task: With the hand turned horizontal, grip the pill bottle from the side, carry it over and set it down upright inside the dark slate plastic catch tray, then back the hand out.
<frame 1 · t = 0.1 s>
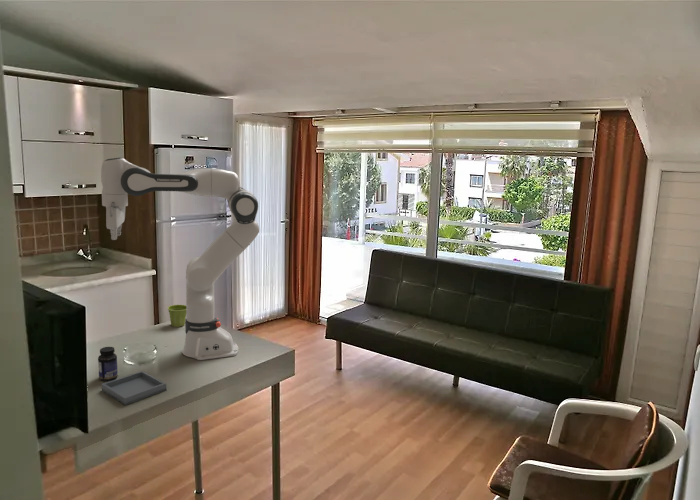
hand: (116, 237, 194), 48 cm above the table, tool pointing down, fingers open, 8 cm apart
pill bottle: (108, 378, 184), on the table
object: (178, 325, 242), on the table
catch tray: (134, 390, 176), on the table
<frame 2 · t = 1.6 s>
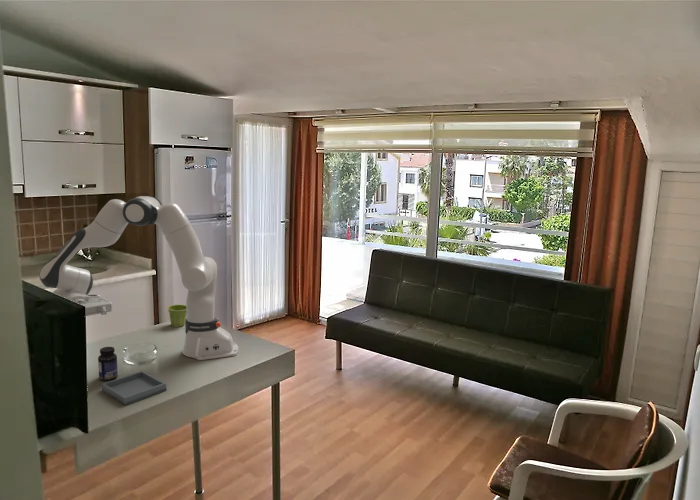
hand: (91, 315, 188), 21 cm above the table, tool horizontal, fingers open, 8 cm apart
nothing on the table moved.
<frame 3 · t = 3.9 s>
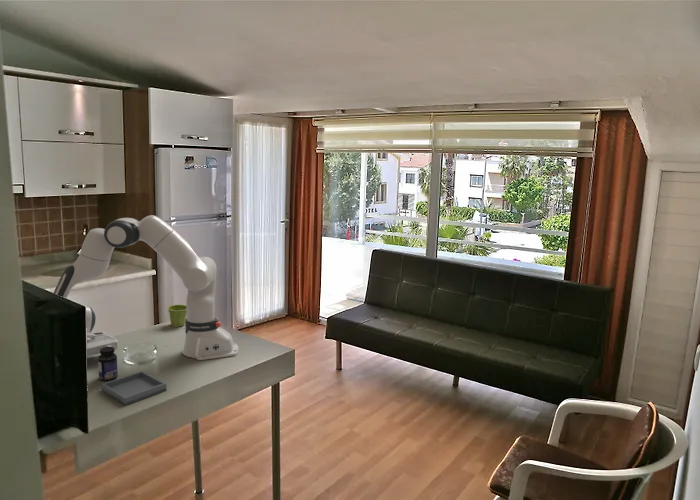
hand: (97, 355, 189), 6 cm above the table, tool horizontal, fingers open, 8 cm apart
nothing on the table moved.
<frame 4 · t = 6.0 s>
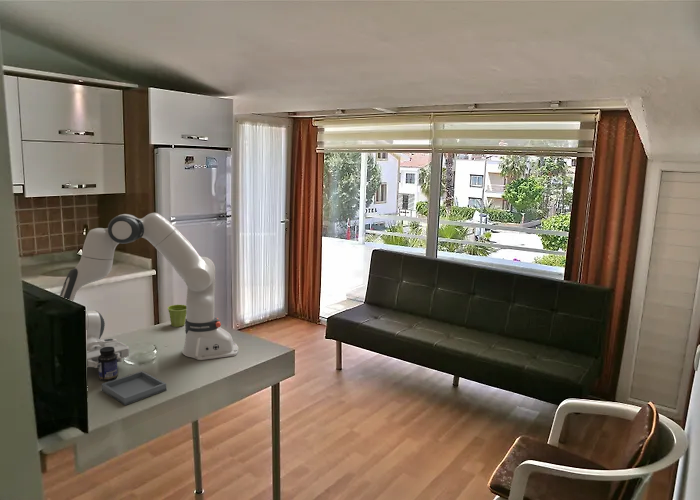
hand: (108, 362, 182), 6 cm above the table, tool horizontal, fingers closed on pill bottle, 6 cm apart
pill bottle: (108, 378, 184), on the table, touching gripper
everything else where it was.
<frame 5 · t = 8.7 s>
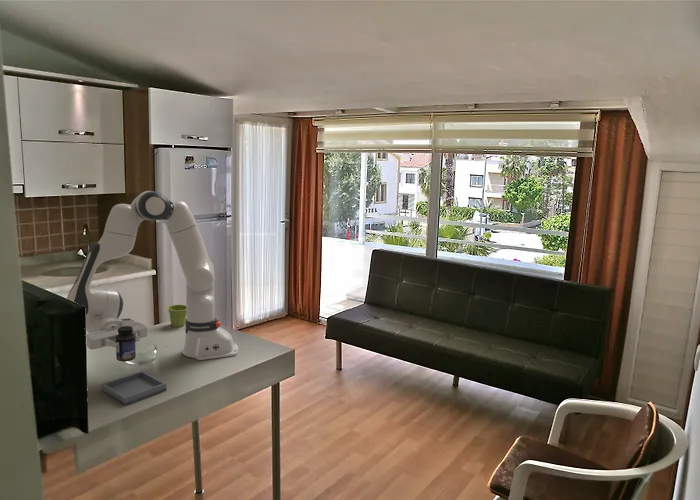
hand: (126, 342, 174), 17 cm above the table, tool horizontal, fingers closed on pill bottle, 6 cm apart
pill bottle: (126, 359, 176), point 10 cm above the table, touching gripper
everything else where it was.
when the fingers open (8 cm above the table, at t = 11.6 s): pill bottle drops 1 cm, resting on catch tray.
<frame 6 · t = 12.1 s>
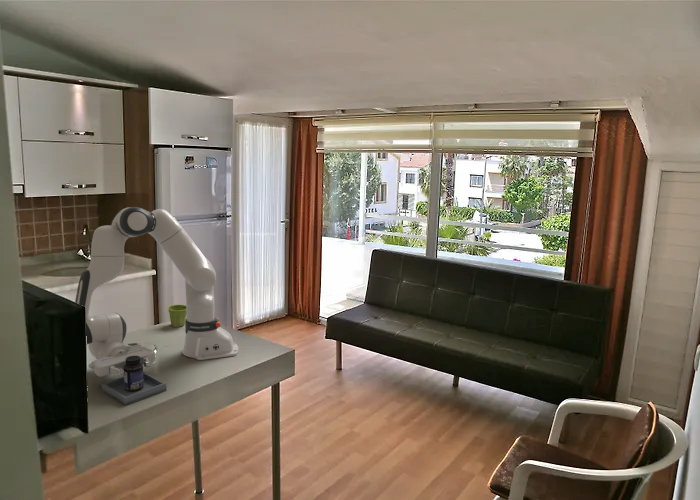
hand: (134, 368, 173), 8 cm above the table, tool horizontal, fingers open, 8 cm apart
pill bottle: (134, 388, 175), point 1 cm above the table, touching catch tray
everything else where it was.
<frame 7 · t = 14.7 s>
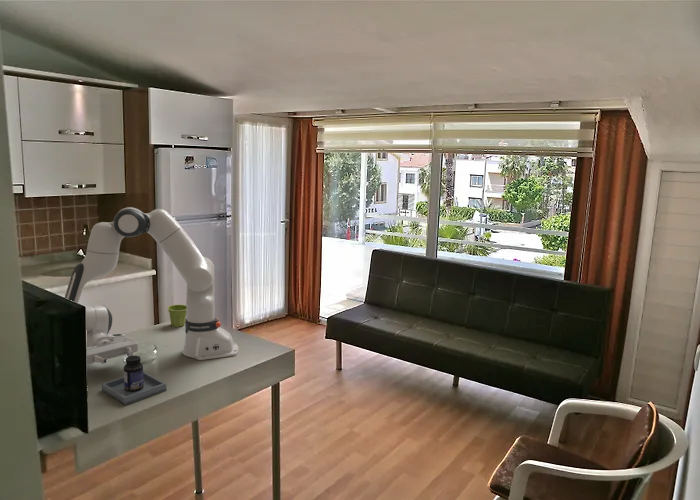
hand: (118, 357, 182), 8 cm above the table, tool horizontal, fingers open, 8 cm apart
nothing on the table moved.
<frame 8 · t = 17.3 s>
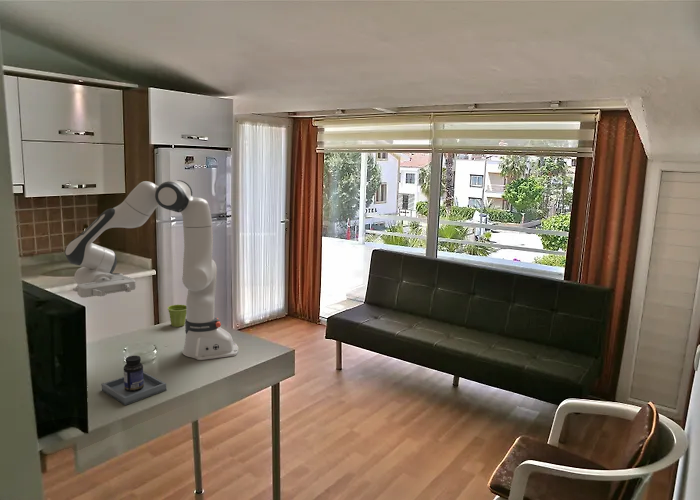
hand: (116, 291, 186), 30 cm above the table, tool horizontal, fingers open, 8 cm apart
nothing on the table moved.
at the end: pill bottle 0.1 cm from the catch tray (horizontally); pill bottle tilted 0°; the gripper is holding nothing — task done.
